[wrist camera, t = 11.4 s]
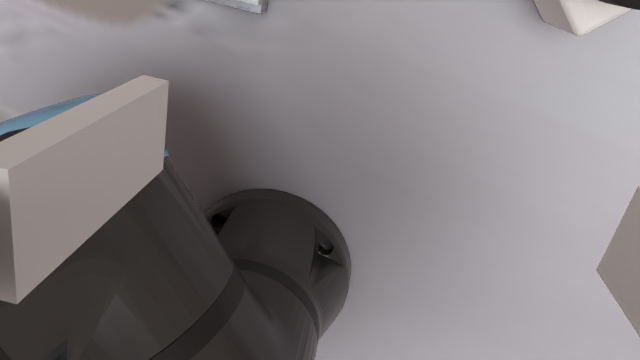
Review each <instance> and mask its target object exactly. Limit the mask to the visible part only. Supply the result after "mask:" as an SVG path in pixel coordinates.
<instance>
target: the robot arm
mask: <svg viewBox="0 0 640 360" xmlns="http://www.w3.org/2000/svg"><path fill="white" fill-rule="evenodd" d="M168 91H169V81H168V80H164V79H160V78H155V77H151V76H146V75H141V76H139V77H137V78H135V79H133V80H131V81H129V82H126V83H124V84H122V85H120V86H118V87H116V88H114V89H112V90H109V91H107V92H105V93H103V94H101V95H89V96H84V97H79V98H76V99H72V100H68V101H65V102H62V103H58V104H55V105H51V106H48V107H45V108H42V109H39V110H36V111H33V112H30V113H27V114H24V115H21V116H18V117H15V118H13V119H10V120H7V121H4V122H1V123H0V360H315V355H316V349H317V344H318V340H319V339H320V338H321V336H322V335H323V334H324V333H325V331H326V330H327V329H328V327H329V326H330V325H331V323H332V322H333V321H334V319H335V318H336V317H337V315H338V314H339V312H340V311H341V309H342V307H343V305H344V302H345V300H346V297H347V293H348V288H349V281H350V274H351V262H350V256H349V251H348V248H347V245H346V243H345V240H344V238H343V236H342V235H341V233H340V231H339V230H338V228H337V227H336V225H335V224H334V223H333V222H332V221H331V220H330V219H329V217H328V216H326V215H325V214H324V213H323V212H322V211H321V210H319V209H318V208H317V207H315V206H314V205H312V204H311V203H309V202H307V201H305V200H303V199H301V198H299V197H297V196H294V195H291V194H288V193H285V192H280V191H274V190H248V191H243V192H239V193H235V194H232V195H230V196H228V197H225V198H223V199H222V200H220V201H218V202H217V203H215V204H214V205H213V206H212V207H210V208H209V209H208V210H207V211H206V213H205V214H203V213H202V211H201V209H200V208H199V206H198V205H197V203H196V202H195V200H194V199H193V197H192V196H191V194H190V193H189V191H188V189H187V188H186V186H185V185H184V183H183V182H182V180H181V179H180V177H179V176H178V174H177V173H176V171H175V170H174V168H173V166H172V165H171V163H170V162H169V160H168V159H167V157H169V154H168V152H167V151H166V150H165V149H164V148H165V134H166V119H167V105H168ZM597 272H598V274H599V275H600V277H601V278H602V280H603V281H604V283H605V284H606V286H607V287H608V289H609V290H610V292H611V293H612V295H613V297H614V298H615V300H616V301H617V303H618V304H619V306H620V307H621V309H622V310H623V312H624V313H625V315H626V317H627V318H628V320H629V321H630V323H631V324H632V326H633V327H634V329H635V330H636V332H637V333H638V335H639V336H640V187H639V186H638V188H637V190H636V192H635V194H634V196H633V198H632V200H631V202H630V204H629V206H628V208H627V210H626V212H625V214H624V216H623V218H622V220H621V222H620V224H619V226H618V228H617V230H616V232H615V234H614V236H613V238H612V240H611V242H610V244H609V246H608V248H607V250H606V252H605V254H604V256H603V258H602V260H601V262H600V264H599V266H598V268H597Z"/></svg>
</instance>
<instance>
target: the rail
mask: <svg viewBox="0 0 640 360" xmlns="http://www.w3.org/2000/svg"><path fill="white" fill-rule="evenodd" d="M204 1H208V2H213V3H217V4H221V5H225V6H230V7H234V8H238V9H242V10H247V11H251V12H255V13H259V14H261V13H263V12H266V11H267V5H268V0H204Z"/></svg>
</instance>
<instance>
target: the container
mask: <svg viewBox="0 0 640 360" xmlns="http://www.w3.org/2000/svg"><path fill="white" fill-rule="evenodd" d="M534 2H535V4H536V7H537V9H538V11H539V13H540V15H541V17H542V19H543V21H544V22H546V23H549V24H551V25H553V26H556V27H558V28H560V29H563V30H565V31H567V32H570V33H572V34H574V35H577V36H582V35H585V34H587V33H589V32H590V31H592V30H594V29H596V28H598V27H600V26H602V25H603V24H605V23H607V22H609V21H611V20H613V19H615V18H616V17H618V16H620V15H622V14H624V13H626V12H628V11H629V10H631V9H637V10H640V0H534Z"/></svg>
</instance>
